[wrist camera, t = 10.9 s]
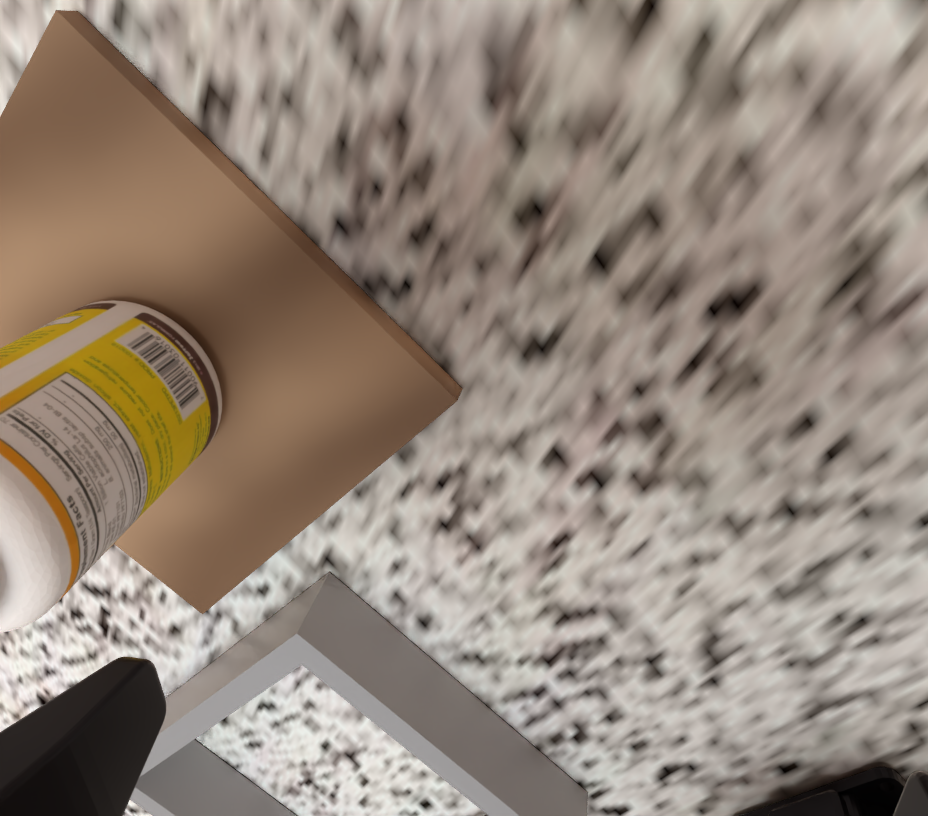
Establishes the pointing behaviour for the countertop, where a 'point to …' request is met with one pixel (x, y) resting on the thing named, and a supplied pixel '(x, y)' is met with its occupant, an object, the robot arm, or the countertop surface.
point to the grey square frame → (367, 689)
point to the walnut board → (201, 307)
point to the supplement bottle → (91, 441)
